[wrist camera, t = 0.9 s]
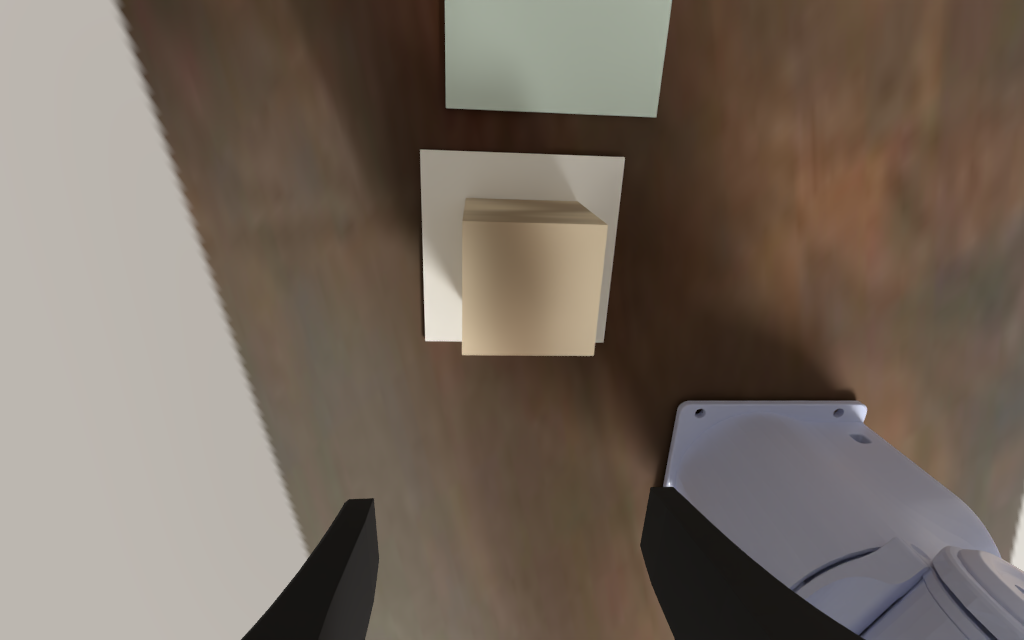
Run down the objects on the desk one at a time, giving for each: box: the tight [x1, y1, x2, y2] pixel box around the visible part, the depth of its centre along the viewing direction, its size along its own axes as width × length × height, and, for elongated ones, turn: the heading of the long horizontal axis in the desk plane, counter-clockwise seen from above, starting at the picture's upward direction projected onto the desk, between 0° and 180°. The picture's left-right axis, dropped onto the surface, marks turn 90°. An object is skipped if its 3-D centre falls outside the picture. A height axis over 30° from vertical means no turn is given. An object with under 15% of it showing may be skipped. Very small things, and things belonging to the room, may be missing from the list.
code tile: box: [420, 149, 625, 343], centre depth 21 cm, size 8×8×1 cm
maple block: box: [462, 198, 608, 356], centre depth 18 cm, size 4×4×5 cm
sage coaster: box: [445, 0, 672, 117], centre depth 18 cm, size 8×6×1 cm
